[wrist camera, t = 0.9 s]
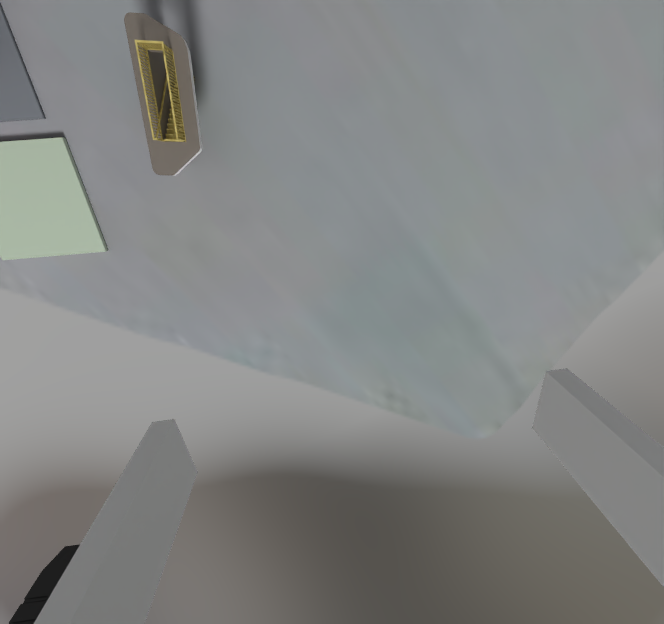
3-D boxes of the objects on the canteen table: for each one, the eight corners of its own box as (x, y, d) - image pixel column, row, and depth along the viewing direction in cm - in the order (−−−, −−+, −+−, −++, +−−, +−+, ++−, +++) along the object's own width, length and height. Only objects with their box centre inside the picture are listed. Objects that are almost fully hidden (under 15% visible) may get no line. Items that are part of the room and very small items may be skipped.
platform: (251, -21, 24) (233, -80, 19) (265, 218, 32) (255, 231, 26) (88, -34, 24) (14, -100, 18) (142, 216, 31) (103, 228, 25)
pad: (-54, 146, 27) (-59, 146, 27) (65, 137, 28) (61, 137, 27) (6, 259, 32) (2, 260, 31) (108, 250, 32) (105, 251, 32)
